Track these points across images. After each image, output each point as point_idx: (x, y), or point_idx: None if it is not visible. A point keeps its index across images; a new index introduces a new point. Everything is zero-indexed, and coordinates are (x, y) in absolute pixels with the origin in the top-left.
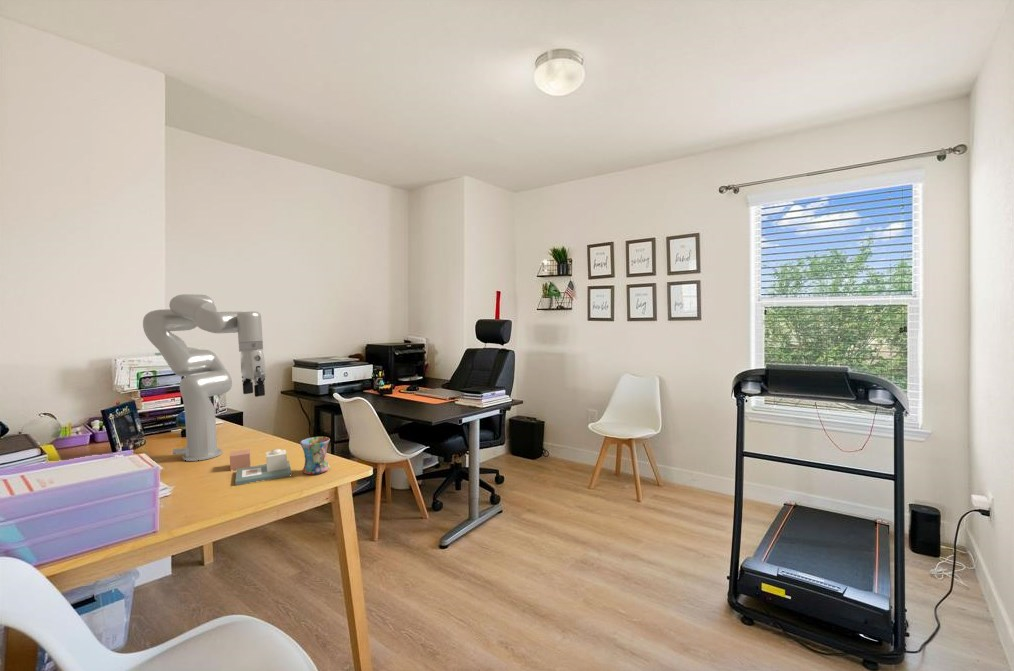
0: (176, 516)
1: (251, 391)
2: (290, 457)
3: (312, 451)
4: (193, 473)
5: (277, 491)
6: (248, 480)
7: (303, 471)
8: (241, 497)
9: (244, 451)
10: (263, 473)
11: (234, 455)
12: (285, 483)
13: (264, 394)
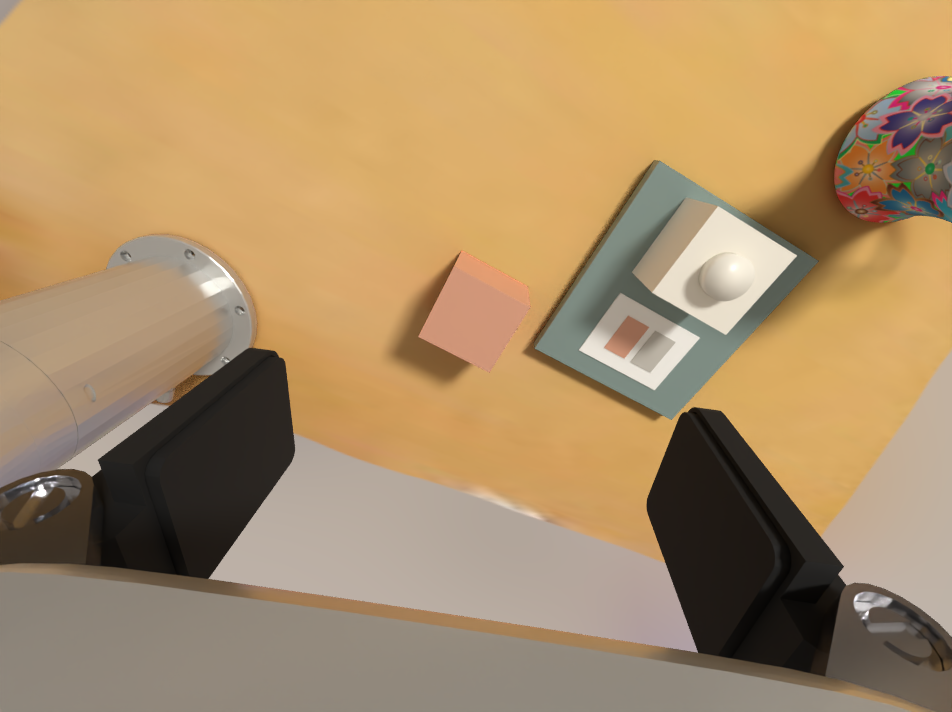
0: None
1: (272, 384)
2: (563, 81)
3: None
4: (401, 416)
5: (875, 377)
6: (698, 388)
7: (866, 220)
8: (783, 452)
9: (472, 301)
10: (698, 327)
11: (494, 356)
12: (846, 320)
13: (719, 417)
